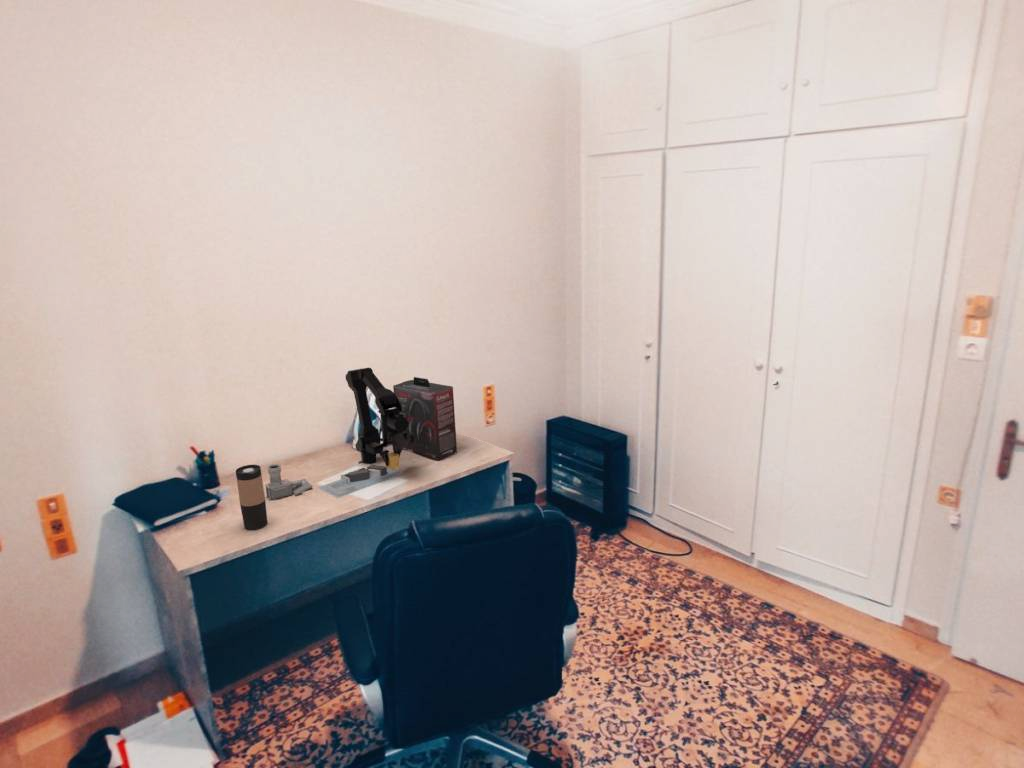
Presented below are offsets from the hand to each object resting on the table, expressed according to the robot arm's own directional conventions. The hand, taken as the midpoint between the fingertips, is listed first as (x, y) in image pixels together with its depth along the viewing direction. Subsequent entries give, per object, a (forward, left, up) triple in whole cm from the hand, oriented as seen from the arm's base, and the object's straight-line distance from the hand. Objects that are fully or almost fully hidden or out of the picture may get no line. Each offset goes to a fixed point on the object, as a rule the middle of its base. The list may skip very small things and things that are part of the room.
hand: (392, 464), depth 238 cm
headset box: (-12, +26, -6) cm, 30 cm away
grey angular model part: (-18, -34, -6) cm, 39 cm away
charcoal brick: (-7, -11, -5) cm, 14 cm away
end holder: (-3, -21, -5) cm, 22 cm away
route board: (-5, -11, -6) cm, 13 cm away
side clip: (-8, -12, -6) cm, 15 cm away
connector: (0, 0, -1) cm, 1 cm away
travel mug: (-2, -54, -6) cm, 54 cm away
